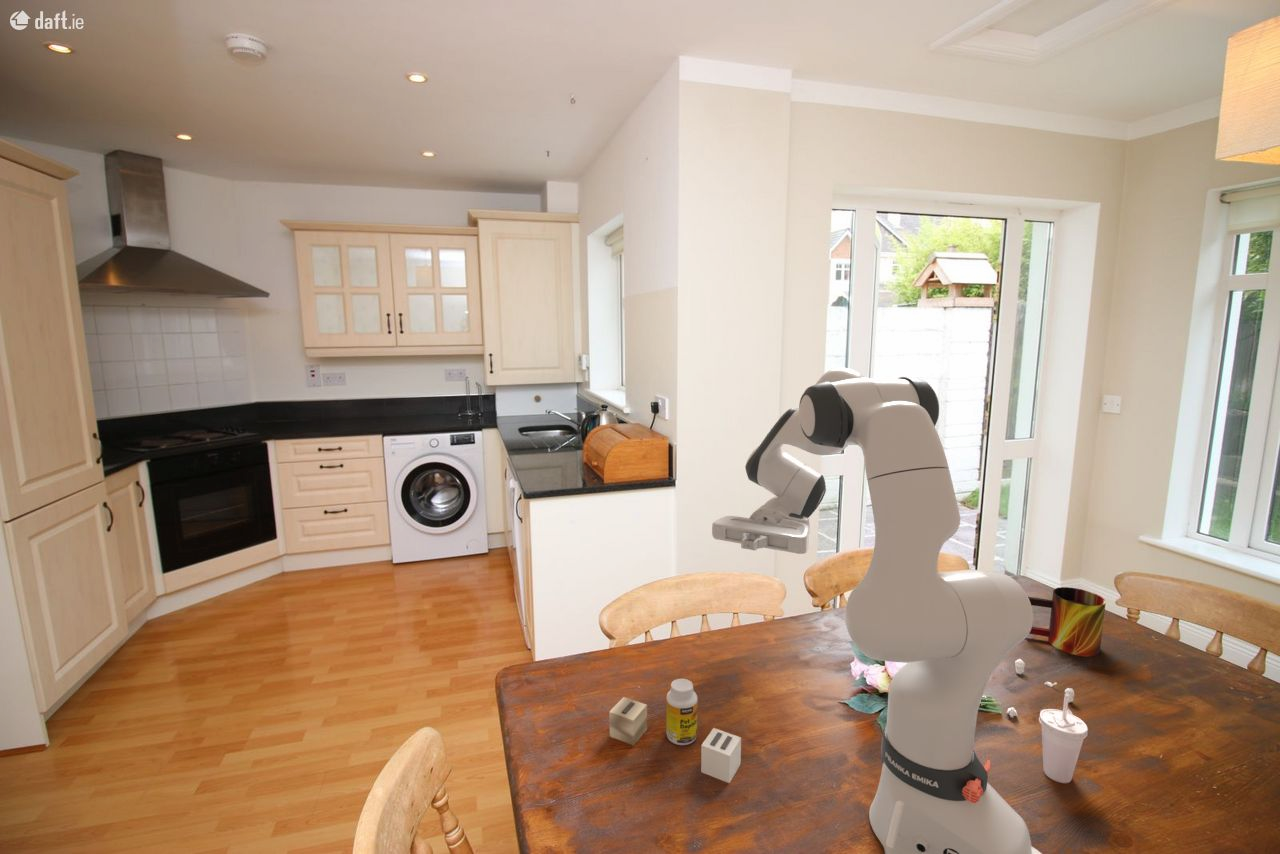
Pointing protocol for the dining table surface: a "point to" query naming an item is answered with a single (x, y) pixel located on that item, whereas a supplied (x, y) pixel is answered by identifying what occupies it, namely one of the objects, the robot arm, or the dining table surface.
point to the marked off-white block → (721, 755)
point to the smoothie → (1061, 742)
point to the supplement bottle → (681, 712)
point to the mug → (1073, 621)
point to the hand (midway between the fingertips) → (748, 545)
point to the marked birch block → (628, 720)
